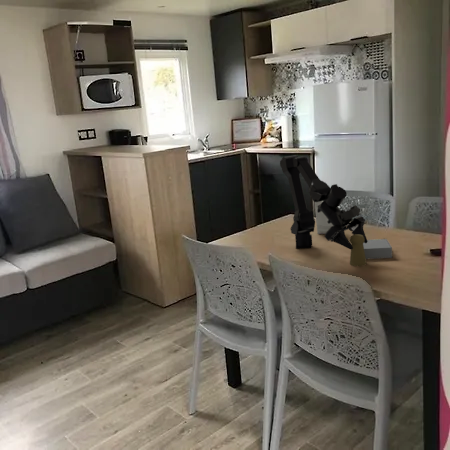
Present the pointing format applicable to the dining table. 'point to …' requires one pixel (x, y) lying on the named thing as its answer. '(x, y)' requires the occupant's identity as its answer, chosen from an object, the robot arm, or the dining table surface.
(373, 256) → the podium
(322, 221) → the skincare box
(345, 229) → the robot arm
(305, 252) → the dining table surface
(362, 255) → the cork
